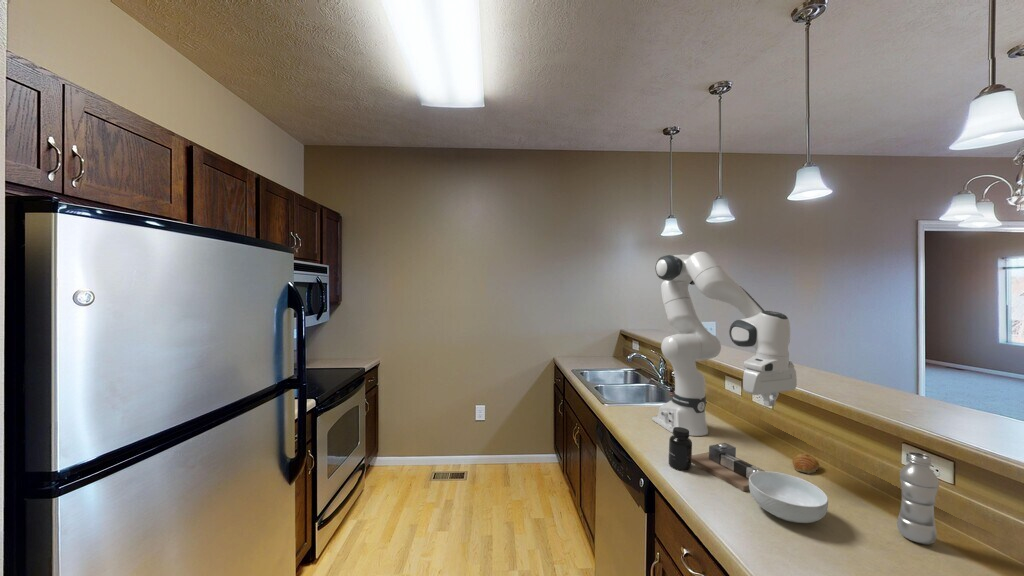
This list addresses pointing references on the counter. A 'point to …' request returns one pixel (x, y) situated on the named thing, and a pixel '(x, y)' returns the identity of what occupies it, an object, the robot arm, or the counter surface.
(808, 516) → the cereal bowl
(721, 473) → the walnut board
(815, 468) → the pastry
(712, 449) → the tong hinge
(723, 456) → the fixed tong arm
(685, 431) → the supplement bottle
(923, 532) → the plastic bottle
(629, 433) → the counter surface
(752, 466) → the loose tong arm
